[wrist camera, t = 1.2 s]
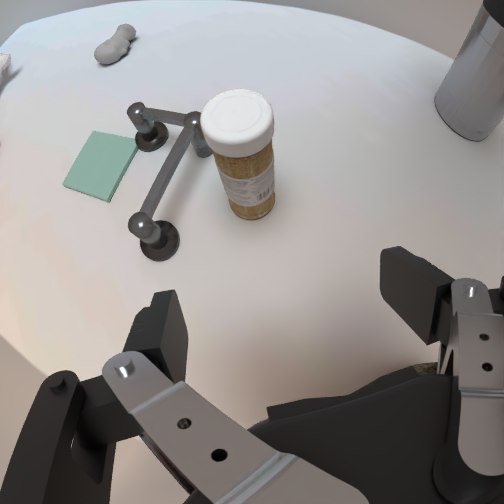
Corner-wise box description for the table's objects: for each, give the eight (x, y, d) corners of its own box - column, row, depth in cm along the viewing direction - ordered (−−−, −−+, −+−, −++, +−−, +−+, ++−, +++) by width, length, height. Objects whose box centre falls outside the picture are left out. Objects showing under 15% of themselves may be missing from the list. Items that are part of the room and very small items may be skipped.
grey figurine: (113, 74, 39) (93, 64, 39) (146, 43, 41) (125, 33, 40) (108, 58, 35) (86, 48, 34) (144, 26, 36) (122, 18, 36)
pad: (95, 133, 35) (93, 130, 34) (141, 142, 33) (139, 140, 33) (64, 186, 33) (62, 184, 32) (109, 202, 32) (106, 200, 31)
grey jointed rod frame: (147, 121, 34) (130, 93, 29) (228, 139, 32) (220, 107, 27) (87, 232, 31) (59, 215, 26) (169, 267, 29) (148, 252, 24)
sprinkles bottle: (257, 171, 31) (245, 76, 18) (284, 204, 30) (289, 116, 17) (219, 196, 31) (185, 109, 18) (246, 230, 30) (224, 155, 17)
